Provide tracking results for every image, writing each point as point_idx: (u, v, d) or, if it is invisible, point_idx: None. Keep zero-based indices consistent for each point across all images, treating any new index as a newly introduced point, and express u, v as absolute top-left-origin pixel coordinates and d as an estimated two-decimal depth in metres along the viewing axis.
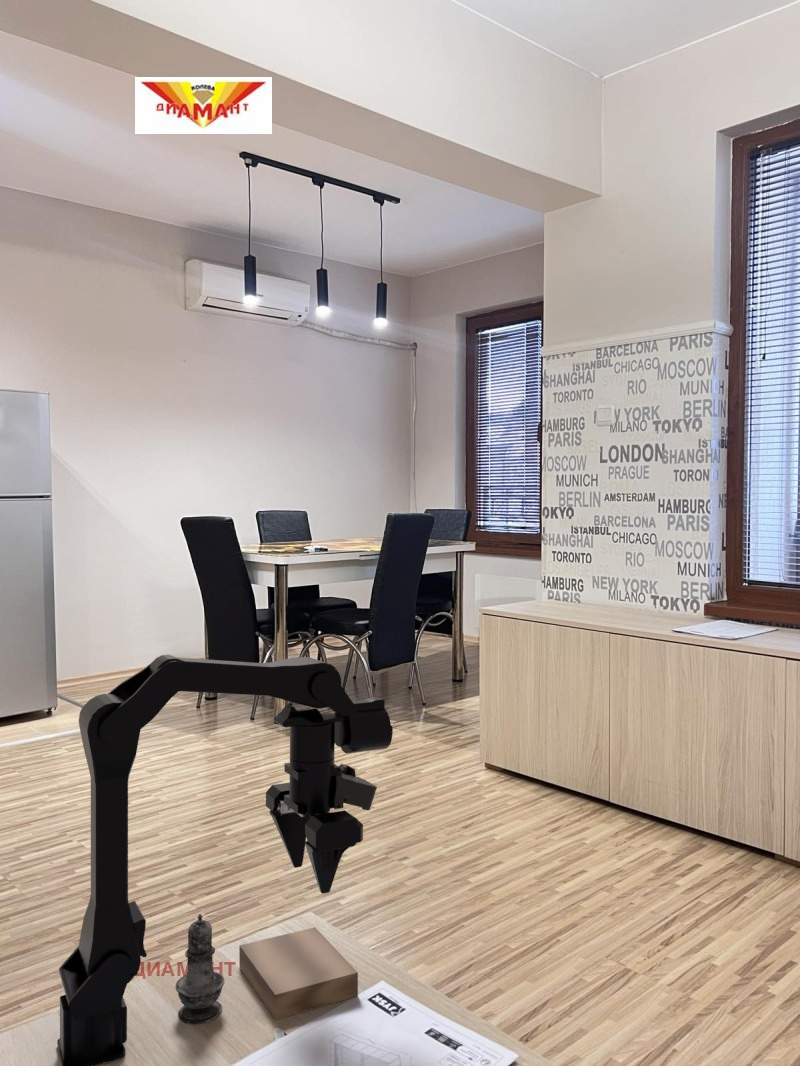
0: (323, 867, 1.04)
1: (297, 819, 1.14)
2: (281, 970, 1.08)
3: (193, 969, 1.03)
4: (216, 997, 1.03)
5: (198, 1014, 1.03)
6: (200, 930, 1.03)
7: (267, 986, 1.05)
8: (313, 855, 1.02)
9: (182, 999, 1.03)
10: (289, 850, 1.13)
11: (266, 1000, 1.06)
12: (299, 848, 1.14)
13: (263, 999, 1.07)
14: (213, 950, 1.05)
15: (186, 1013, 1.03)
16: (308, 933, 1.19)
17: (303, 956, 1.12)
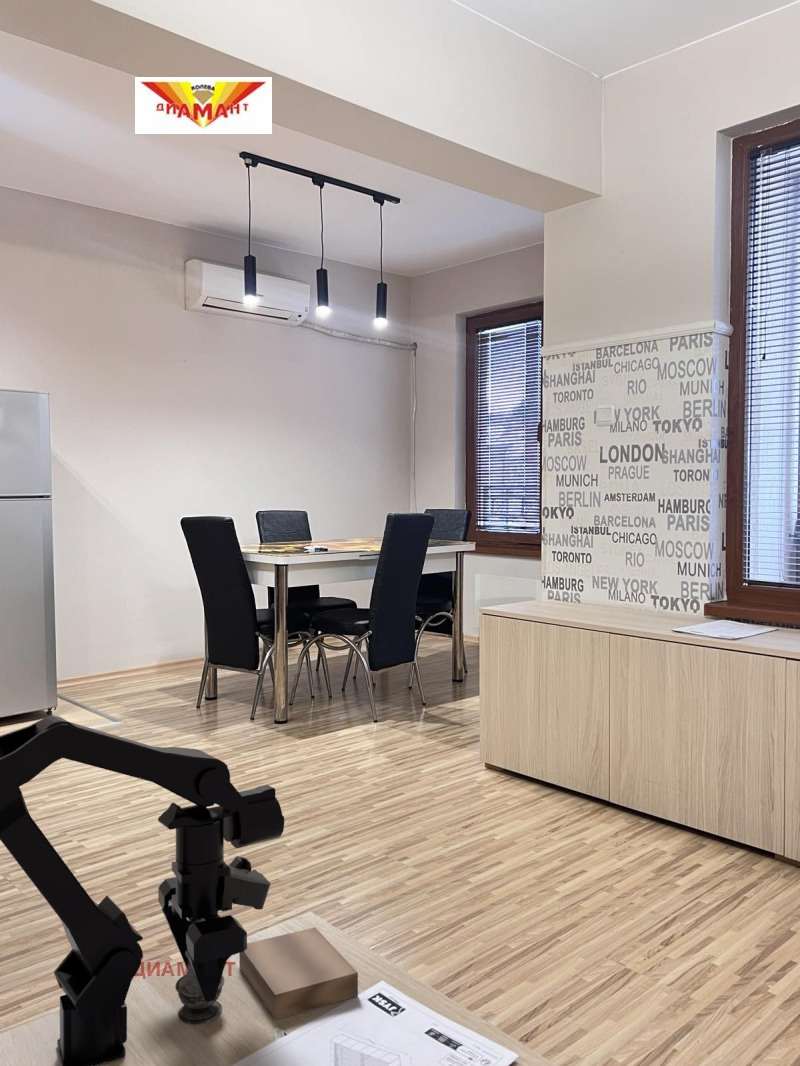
0: (206, 975, 0.99)
1: None
2: (281, 970, 1.08)
3: None
4: (216, 997, 1.03)
5: (198, 1014, 1.03)
6: None
7: (267, 986, 1.05)
8: (193, 965, 0.98)
9: (182, 999, 1.03)
10: (181, 951, 1.08)
11: (266, 1000, 1.06)
12: None
13: (263, 999, 1.07)
14: None
15: (186, 1013, 1.03)
16: (308, 933, 1.19)
17: (303, 956, 1.12)
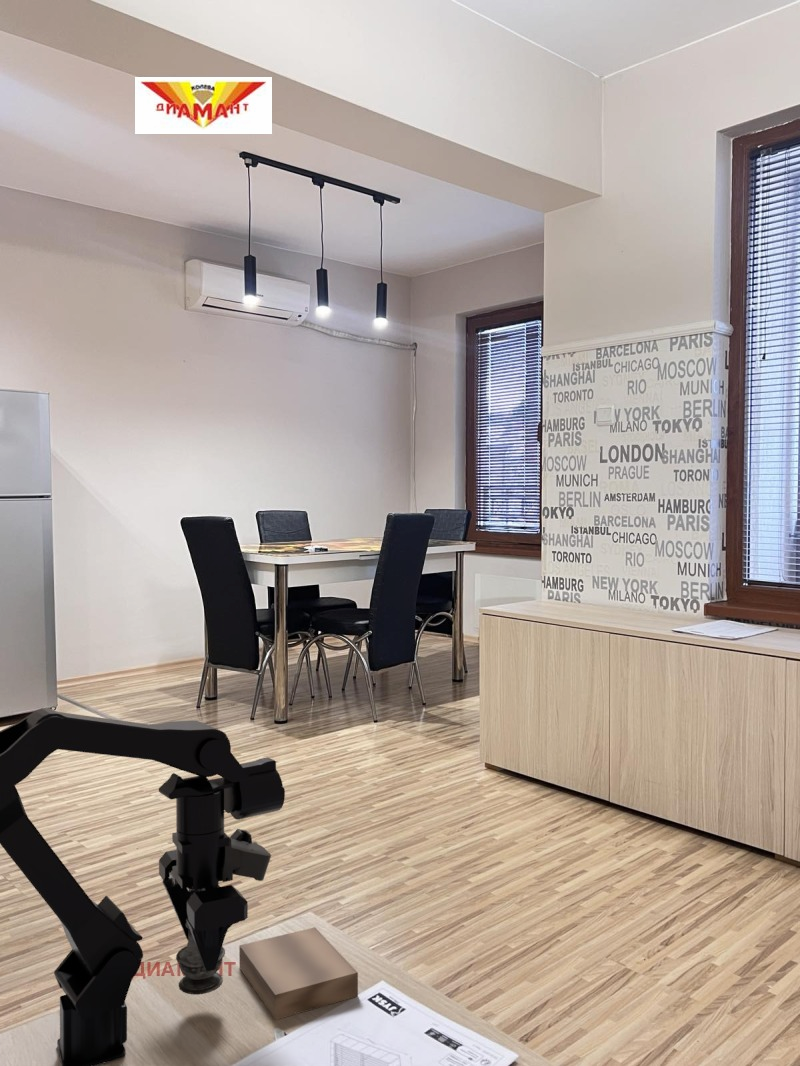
0: (206, 945, 0.99)
1: None
2: (281, 970, 1.08)
3: None
4: (217, 967, 1.04)
5: (199, 985, 1.03)
6: None
7: (267, 986, 1.05)
8: (194, 934, 0.98)
9: (183, 970, 1.03)
10: (182, 922, 1.08)
11: (266, 1000, 1.06)
12: None
13: (263, 999, 1.07)
14: None
15: (187, 984, 1.03)
16: (308, 933, 1.19)
17: (303, 956, 1.12)
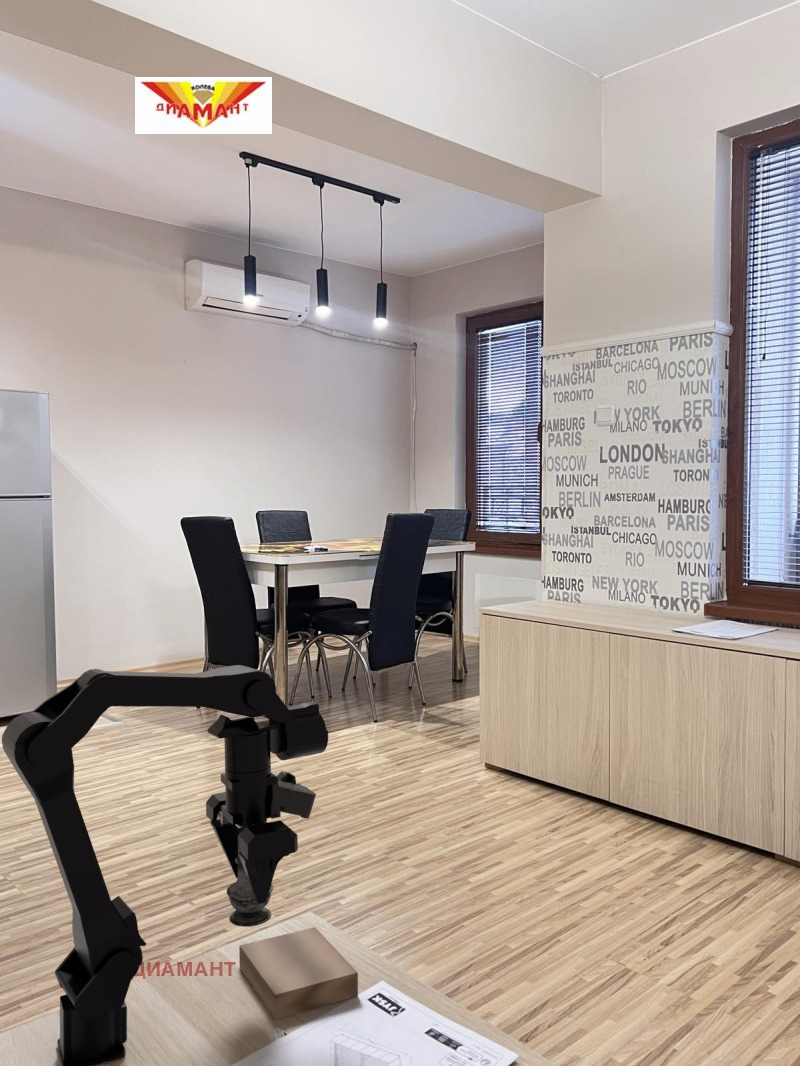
0: (258, 877, 1.03)
1: (238, 829, 1.12)
2: (281, 970, 1.08)
3: (244, 875, 1.07)
4: (267, 901, 1.07)
5: (250, 918, 1.07)
6: None
7: (267, 986, 1.05)
8: (246, 866, 1.01)
9: (234, 903, 1.06)
10: (230, 861, 1.11)
11: (266, 1000, 1.06)
12: None
13: (263, 999, 1.07)
14: None
15: (238, 917, 1.07)
16: (308, 933, 1.19)
17: (303, 956, 1.12)
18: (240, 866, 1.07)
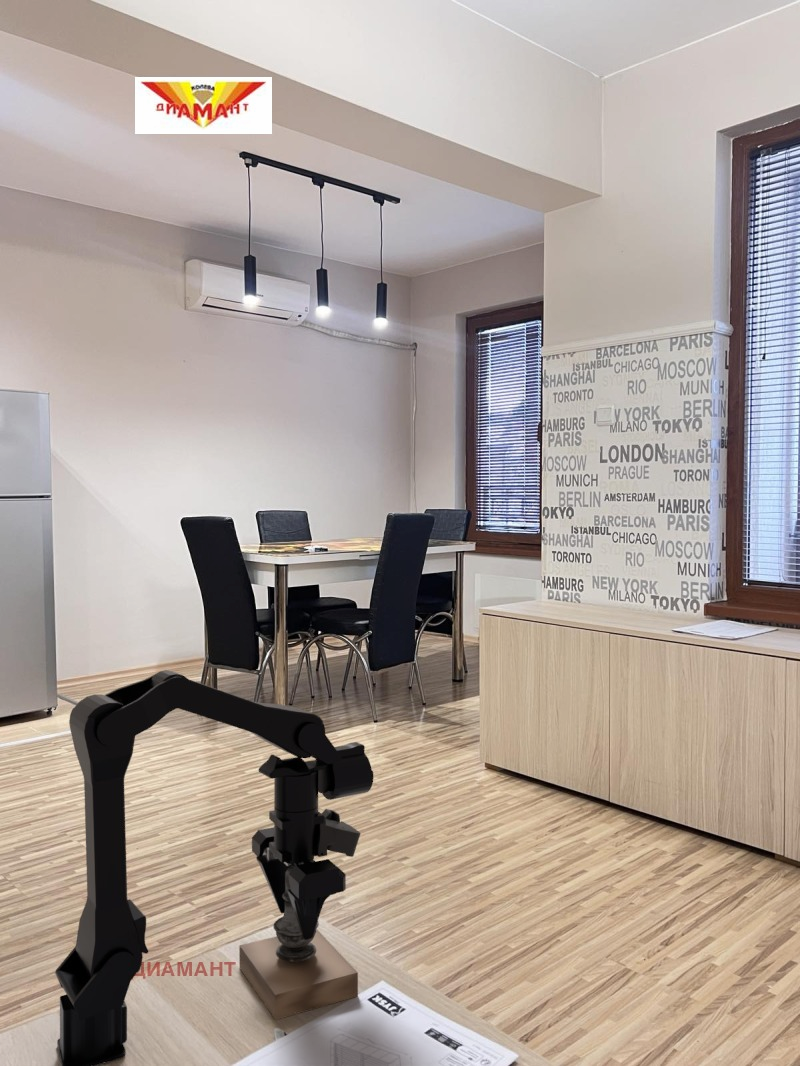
0: (305, 914, 1.06)
1: (283, 865, 1.16)
2: (281, 970, 1.08)
3: (293, 910, 1.10)
4: (314, 935, 1.11)
5: (298, 952, 1.10)
6: None
7: (267, 986, 1.05)
8: (295, 903, 1.05)
9: (284, 939, 1.09)
10: (276, 896, 1.15)
11: (266, 1000, 1.06)
12: None
13: (263, 999, 1.07)
14: None
15: (286, 953, 1.10)
16: None
17: None
18: (289, 902, 1.10)
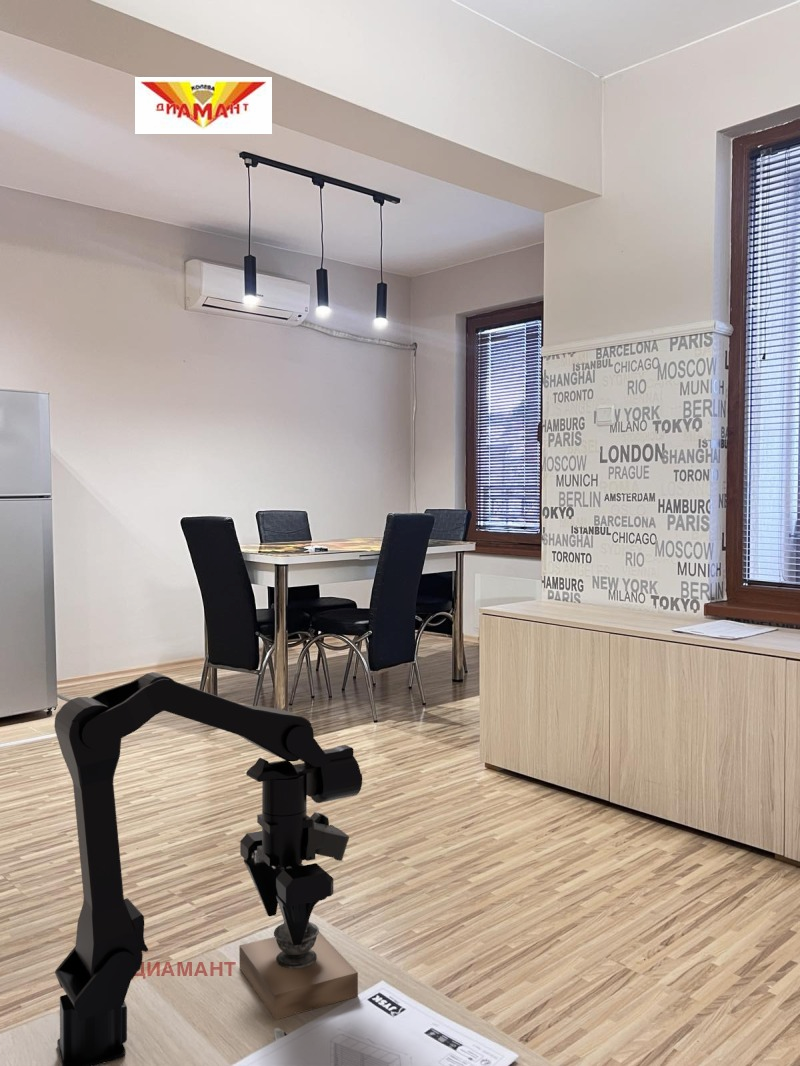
0: (294, 920, 1.05)
1: (270, 868, 1.15)
2: (281, 970, 1.08)
3: None
4: (300, 949, 1.09)
5: (288, 958, 1.10)
6: None
7: (267, 986, 1.05)
8: (284, 909, 1.04)
9: (276, 939, 1.11)
10: (263, 899, 1.14)
11: (266, 1000, 1.06)
12: (273, 897, 1.15)
13: (263, 999, 1.07)
14: None
15: (282, 954, 1.12)
16: None
17: None
18: None
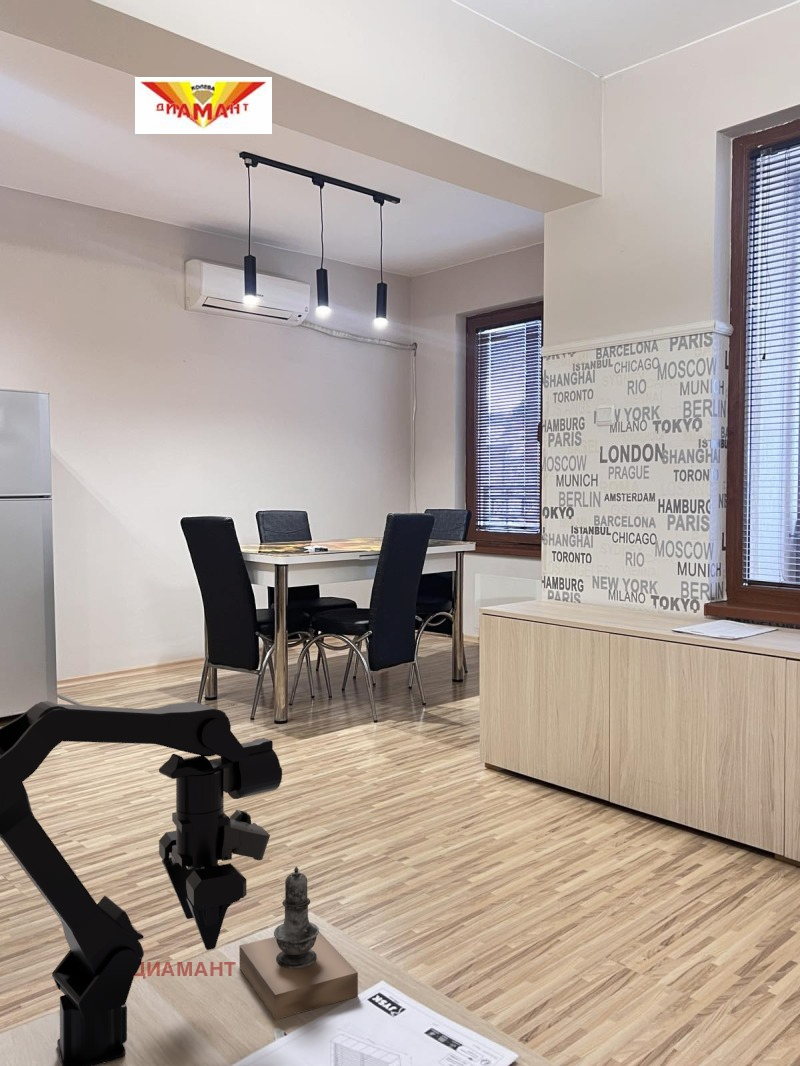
0: (206, 923, 1.00)
1: (189, 869, 1.10)
2: (281, 970, 1.08)
3: (285, 915, 1.11)
4: (300, 949, 1.09)
5: (288, 958, 1.10)
6: (291, 880, 1.10)
7: (267, 986, 1.05)
8: (194, 912, 0.98)
9: (276, 939, 1.11)
10: (181, 901, 1.09)
11: (266, 1000, 1.06)
12: None
13: (263, 999, 1.07)
14: (305, 904, 1.10)
15: (282, 954, 1.12)
16: None
17: None
18: None
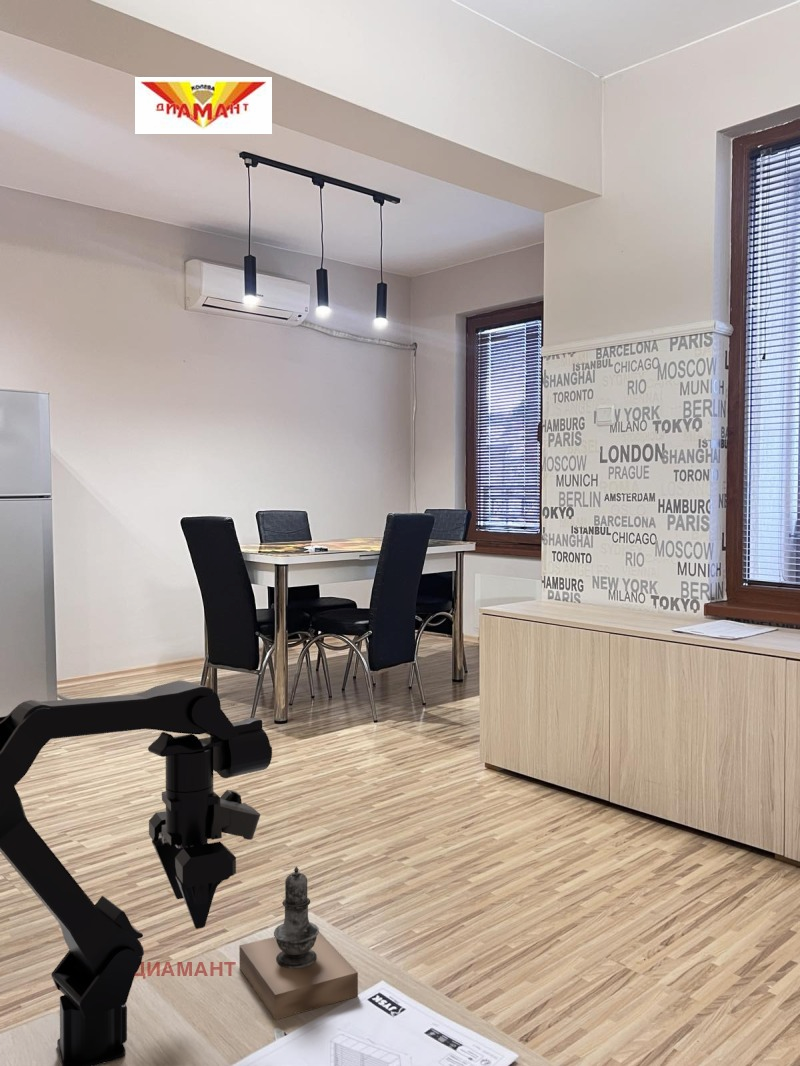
0: (196, 902, 0.99)
1: (179, 849, 1.09)
2: (281, 970, 1.08)
3: (285, 915, 1.11)
4: (300, 949, 1.09)
5: (288, 958, 1.10)
6: (291, 880, 1.10)
7: (267, 986, 1.05)
8: (183, 890, 0.98)
9: (276, 939, 1.11)
10: (171, 881, 1.08)
11: (266, 1000, 1.06)
12: None
13: (263, 999, 1.07)
14: (305, 904, 1.10)
15: (282, 954, 1.12)
16: None
17: None
18: None
